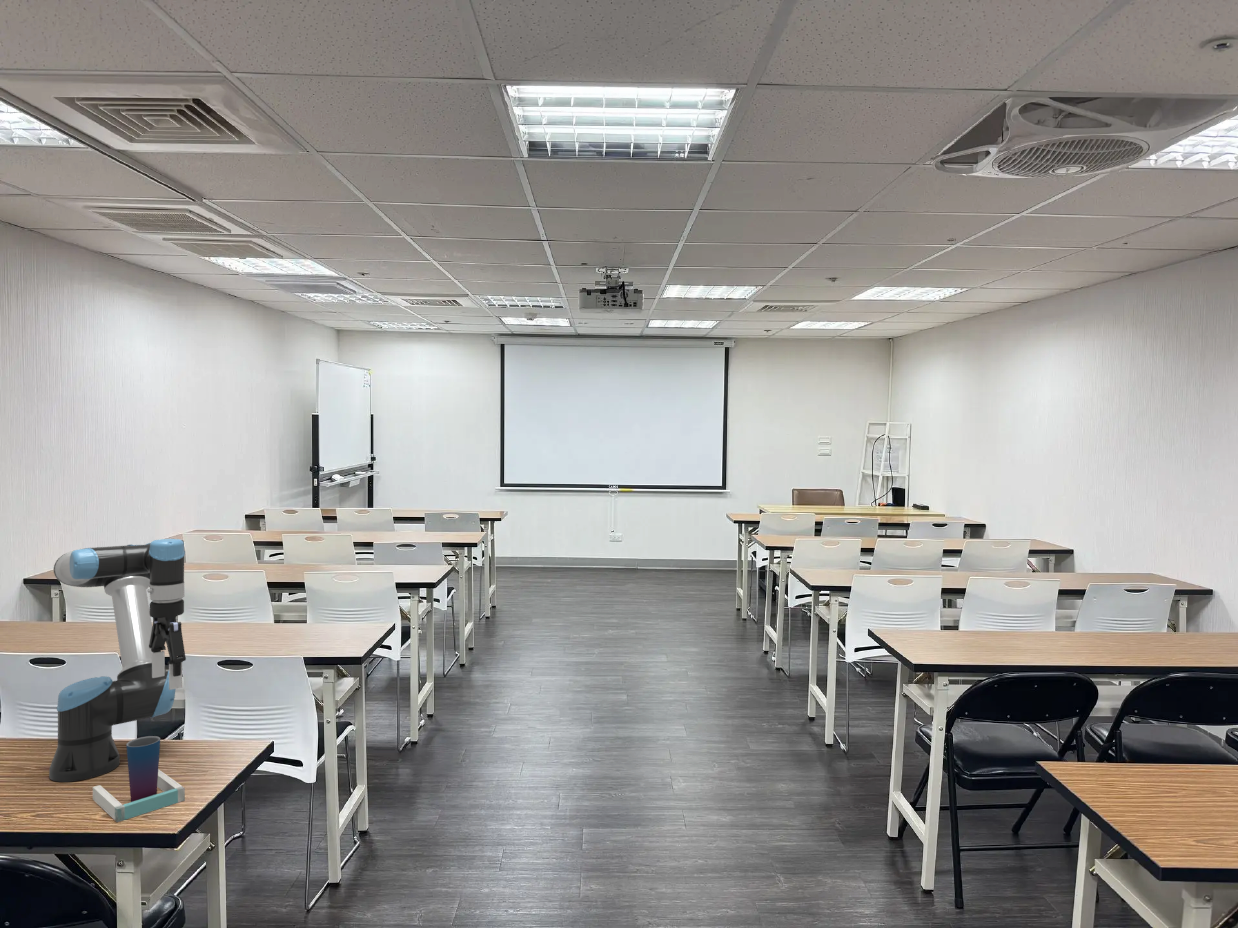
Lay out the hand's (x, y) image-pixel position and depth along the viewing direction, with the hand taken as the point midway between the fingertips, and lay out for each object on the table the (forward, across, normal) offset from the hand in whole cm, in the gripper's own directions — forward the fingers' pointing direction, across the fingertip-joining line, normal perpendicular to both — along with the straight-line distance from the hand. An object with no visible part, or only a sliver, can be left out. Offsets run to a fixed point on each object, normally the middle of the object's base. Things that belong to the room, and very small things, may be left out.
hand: (166, 682), depth 187 cm
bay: (+25, +7, -8) cm, 27 cm away
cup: (+25, +11, -8) cm, 29 cm away
